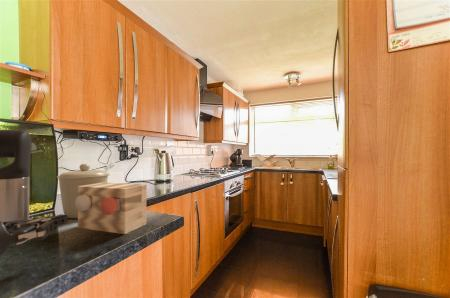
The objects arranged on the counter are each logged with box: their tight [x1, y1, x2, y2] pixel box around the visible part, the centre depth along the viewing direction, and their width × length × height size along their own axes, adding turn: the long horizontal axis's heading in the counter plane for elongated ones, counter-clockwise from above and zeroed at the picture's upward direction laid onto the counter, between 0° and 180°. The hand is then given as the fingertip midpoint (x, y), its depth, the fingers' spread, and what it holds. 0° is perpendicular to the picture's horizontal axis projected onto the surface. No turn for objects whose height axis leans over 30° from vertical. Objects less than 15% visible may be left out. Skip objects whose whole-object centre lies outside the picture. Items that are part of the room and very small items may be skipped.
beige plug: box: [75, 194, 92, 211], centre depth 74 cm, size 5×9×5 cm, turn 162°
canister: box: [56, 163, 111, 219], centre depth 88 cm, size 18×18×21 cm
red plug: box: [101, 197, 120, 215], centre depth 69 cm, size 5×9×5 cm, turn 162°
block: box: [77, 182, 147, 235], centre depth 74 cm, size 20×10×14 cm, turn 72°
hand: (64, 218), depth 53 cm, fingers closed
